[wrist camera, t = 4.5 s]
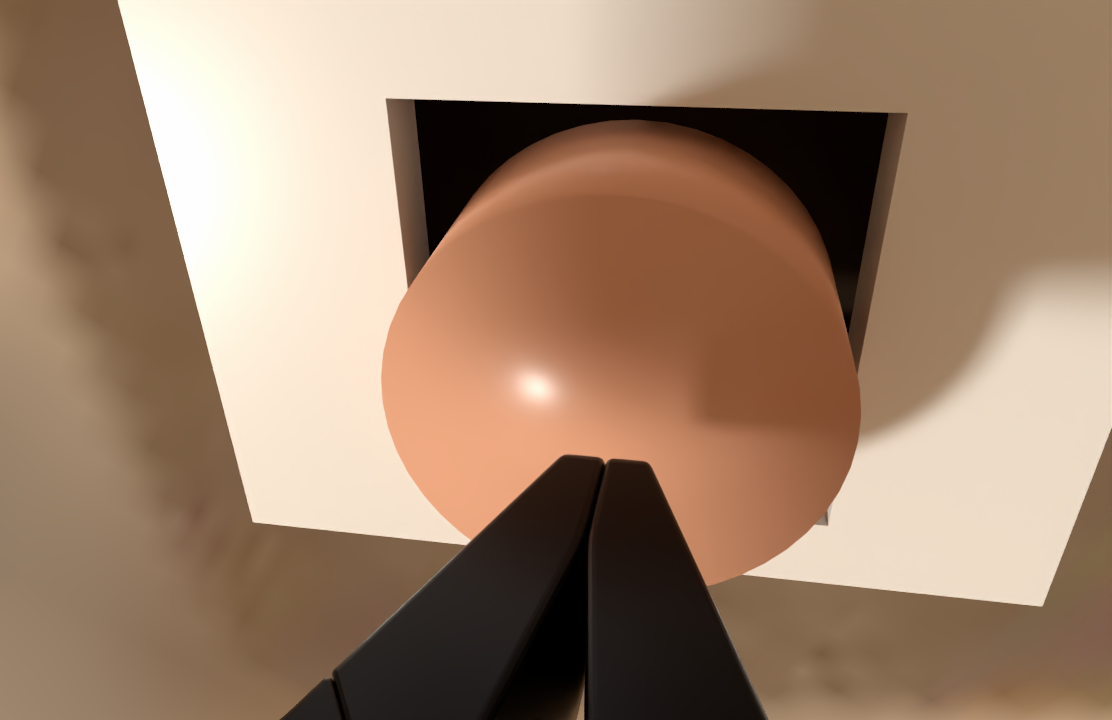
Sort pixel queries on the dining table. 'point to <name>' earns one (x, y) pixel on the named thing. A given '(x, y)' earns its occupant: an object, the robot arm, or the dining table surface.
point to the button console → (681, 81)
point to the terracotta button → (631, 340)
